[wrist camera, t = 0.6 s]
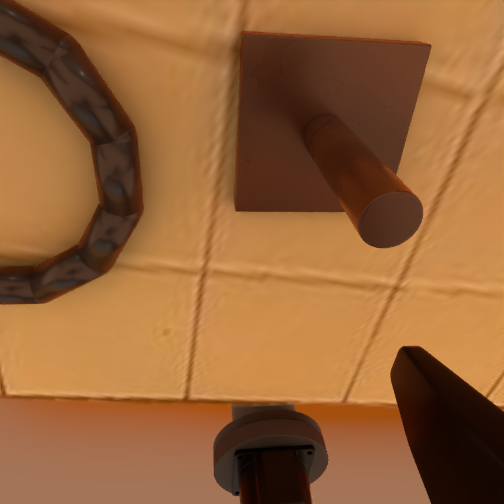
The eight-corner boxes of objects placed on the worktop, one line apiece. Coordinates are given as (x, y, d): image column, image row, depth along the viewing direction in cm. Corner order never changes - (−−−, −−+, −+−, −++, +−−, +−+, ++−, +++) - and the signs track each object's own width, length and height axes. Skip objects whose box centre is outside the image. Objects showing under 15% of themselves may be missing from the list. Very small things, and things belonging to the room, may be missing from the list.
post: (379, 204, 22) (467, 316, 15) (233, 202, 21) (251, 322, 14) (421, 41, 18) (577, 87, 11) (241, 30, 17) (272, 72, 10)
